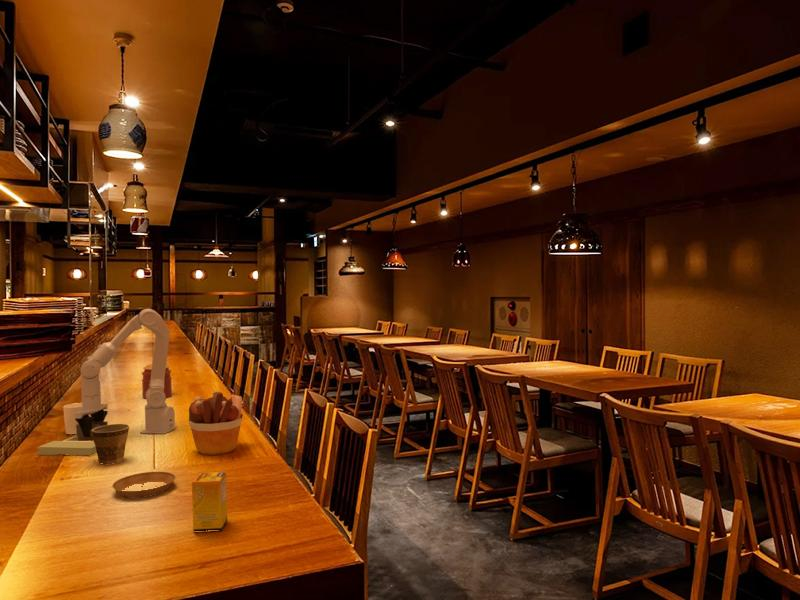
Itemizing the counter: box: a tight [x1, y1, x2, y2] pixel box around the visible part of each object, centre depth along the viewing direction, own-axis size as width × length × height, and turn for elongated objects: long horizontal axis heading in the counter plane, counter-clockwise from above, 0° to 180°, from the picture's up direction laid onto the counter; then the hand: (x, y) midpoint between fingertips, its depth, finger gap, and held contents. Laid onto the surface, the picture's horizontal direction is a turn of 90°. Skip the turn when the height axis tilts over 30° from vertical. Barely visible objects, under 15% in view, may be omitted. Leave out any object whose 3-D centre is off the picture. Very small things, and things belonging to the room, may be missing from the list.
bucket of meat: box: [188, 390, 243, 456], centre depth 178 cm, size 20×16×20 cm
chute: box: [76, 420, 109, 440], centre depth 194 cm, size 8×5×5 cm, turn 83°
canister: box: [141, 363, 173, 400], centre depth 267 cm, size 13×13×18 cm
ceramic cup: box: [90, 423, 130, 465], centre depth 169 cm, size 13×10×10 cm
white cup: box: [62, 402, 82, 435], centre depth 203 cm, size 8×8×10 cm
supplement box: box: [191, 471, 228, 532], centre depth 122 cm, size 6×6×11 cm
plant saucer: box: [111, 471, 177, 498], centre depth 145 cm, size 15×15×3 cm
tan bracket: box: [37, 435, 97, 456], centre depth 182 cm, size 18×13×3 cm
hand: (92, 434), depth 195 cm, fingers closed on chute, 5 cm apart
